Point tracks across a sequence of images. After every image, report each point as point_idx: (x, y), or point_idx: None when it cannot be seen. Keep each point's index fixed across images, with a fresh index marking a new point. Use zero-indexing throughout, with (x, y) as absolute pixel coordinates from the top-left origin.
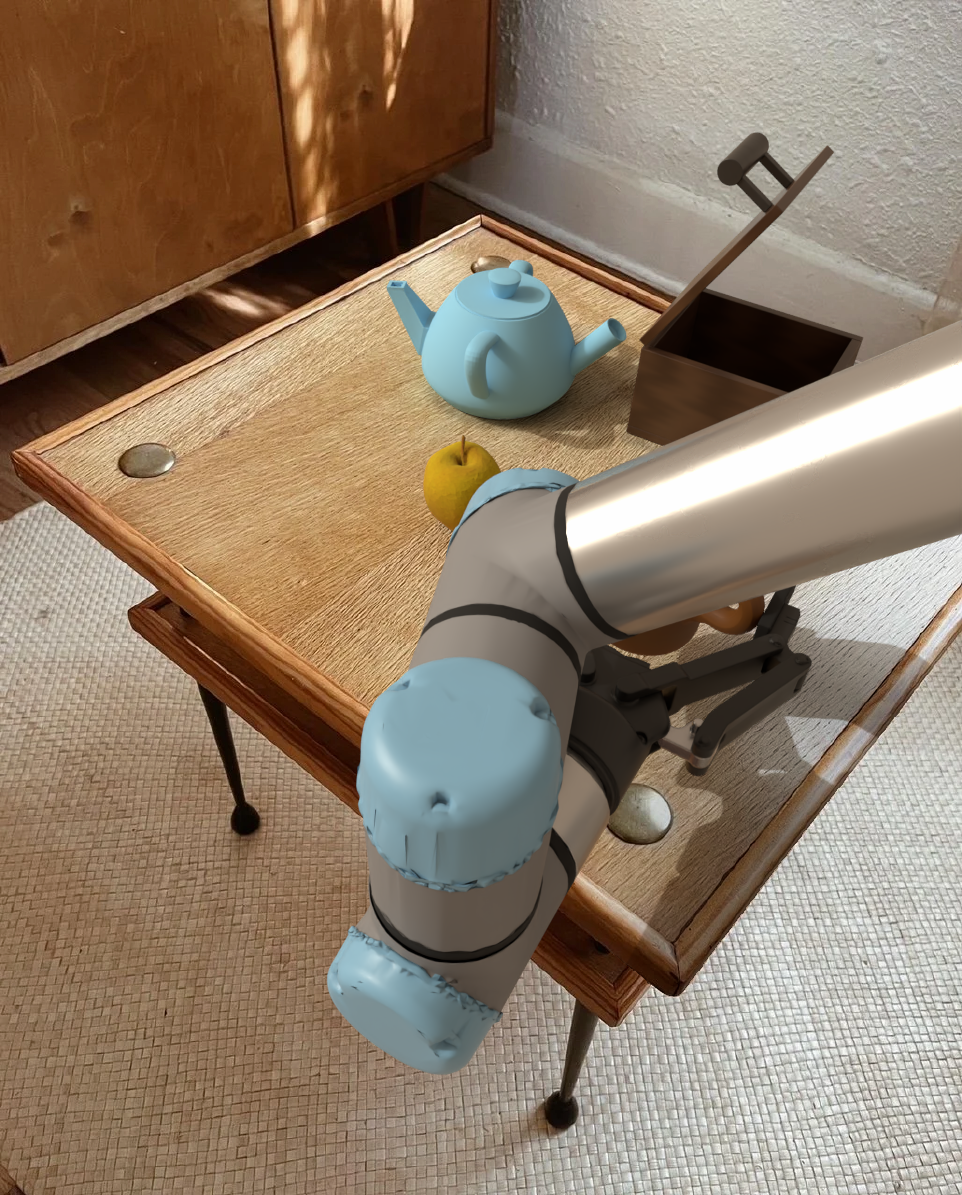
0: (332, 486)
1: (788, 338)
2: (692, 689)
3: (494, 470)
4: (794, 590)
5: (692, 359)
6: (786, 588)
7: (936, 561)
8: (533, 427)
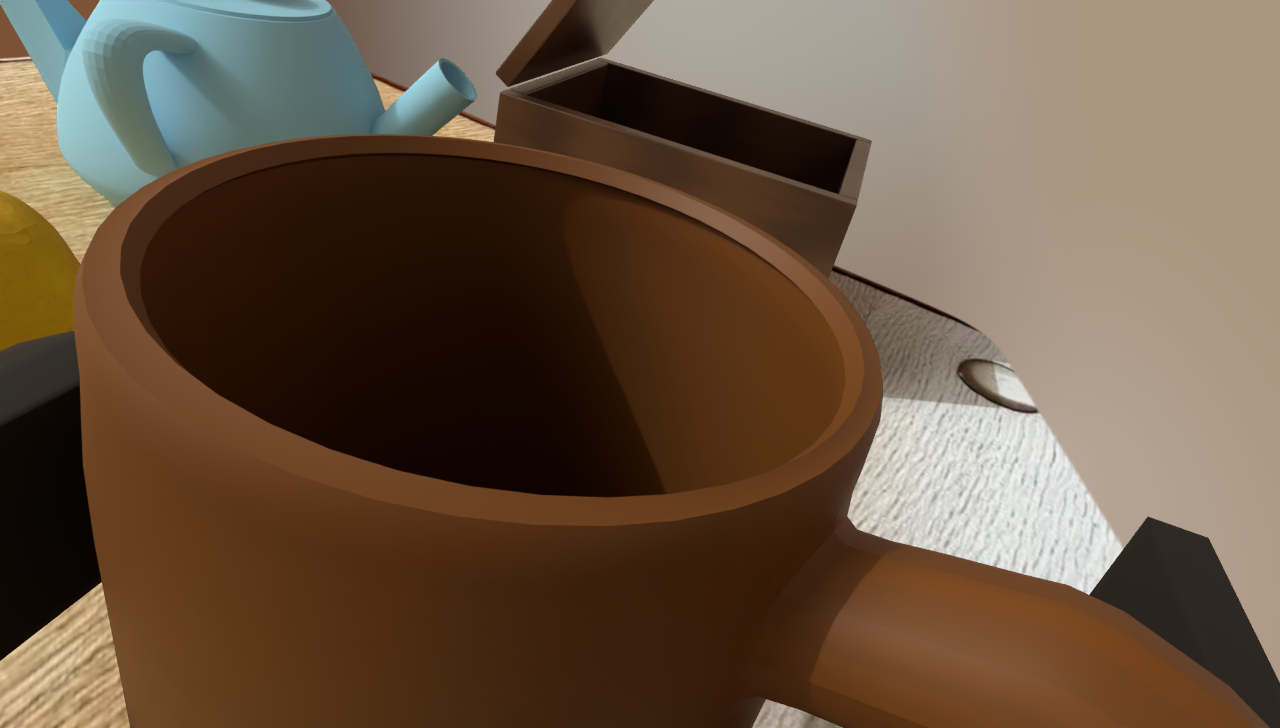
0: None
1: (750, 143)
2: None
3: (31, 258)
4: None
5: None
6: (1275, 711)
7: (1077, 514)
8: None
